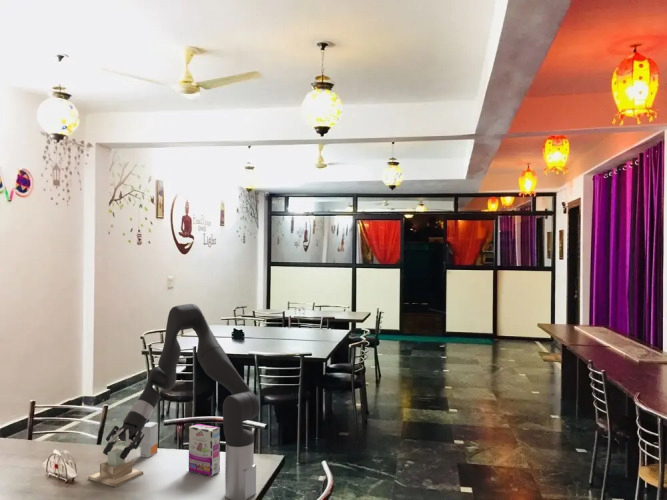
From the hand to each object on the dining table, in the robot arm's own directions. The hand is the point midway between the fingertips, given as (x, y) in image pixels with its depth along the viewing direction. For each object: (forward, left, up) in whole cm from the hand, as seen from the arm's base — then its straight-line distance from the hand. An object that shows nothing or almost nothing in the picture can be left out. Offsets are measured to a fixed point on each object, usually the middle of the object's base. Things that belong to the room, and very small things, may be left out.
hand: (113, 456), depth 186 cm
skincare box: (+6, -22, -8) cm, 24 cm away
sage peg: (0, -1, -7) cm, 7 cm away
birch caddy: (0, -1, -8) cm, 8 cm away
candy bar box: (-25, -19, -8) cm, 33 cm away
